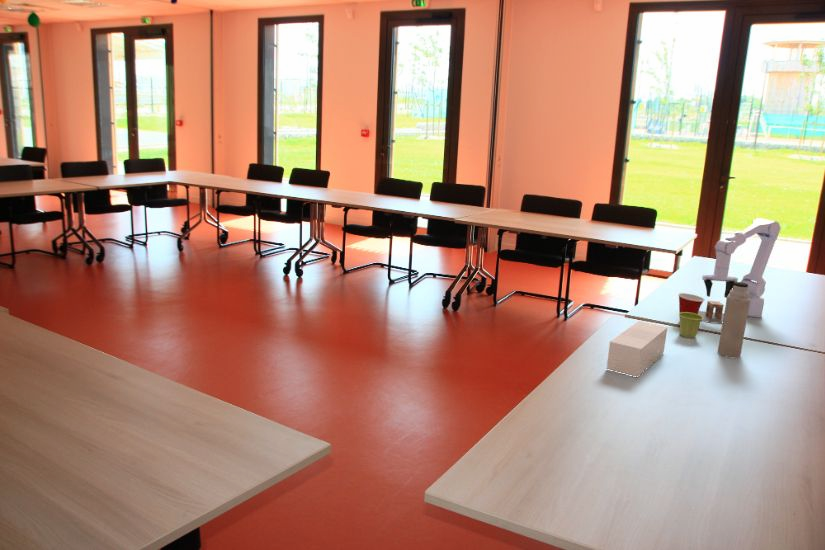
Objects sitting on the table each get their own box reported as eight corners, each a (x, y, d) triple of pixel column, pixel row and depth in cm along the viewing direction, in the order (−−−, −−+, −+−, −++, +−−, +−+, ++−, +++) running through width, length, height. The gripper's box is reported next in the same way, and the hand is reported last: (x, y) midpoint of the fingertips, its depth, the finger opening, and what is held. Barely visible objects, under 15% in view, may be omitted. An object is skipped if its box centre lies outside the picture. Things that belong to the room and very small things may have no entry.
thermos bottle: (716, 349, 268) (728, 279, 262) (739, 352, 266) (751, 282, 259) (718, 355, 261) (730, 284, 254) (741, 359, 259) (754, 286, 252)
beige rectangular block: (636, 378, 234) (640, 349, 232) (606, 370, 240) (609, 341, 238) (663, 354, 260) (667, 327, 258) (635, 347, 266) (639, 320, 263)
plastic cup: (704, 327, 296) (709, 300, 293) (679, 325, 296) (683, 298, 293) (695, 319, 307) (699, 293, 304) (670, 318, 307) (674, 291, 304)
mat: (728, 314, 316) (728, 314, 316) (736, 325, 301) (736, 324, 301) (691, 311, 319) (691, 310, 319) (697, 321, 304) (698, 320, 304)
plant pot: (700, 334, 285) (703, 314, 283) (699, 341, 277) (702, 320, 275) (676, 330, 289) (679, 310, 287) (674, 336, 281) (677, 316, 278)
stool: (717, 315, 313) (719, 301, 311) (721, 319, 308) (723, 304, 306) (705, 314, 313) (707, 300, 311) (709, 318, 308) (711, 304, 306)
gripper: (735, 266, 308) (730, 295, 311) (702, 263, 309) (697, 293, 312) (741, 269, 301) (736, 299, 304) (707, 267, 302) (702, 297, 305)
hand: (717, 296), depth 308 cm, fingers open, 7 cm apart
